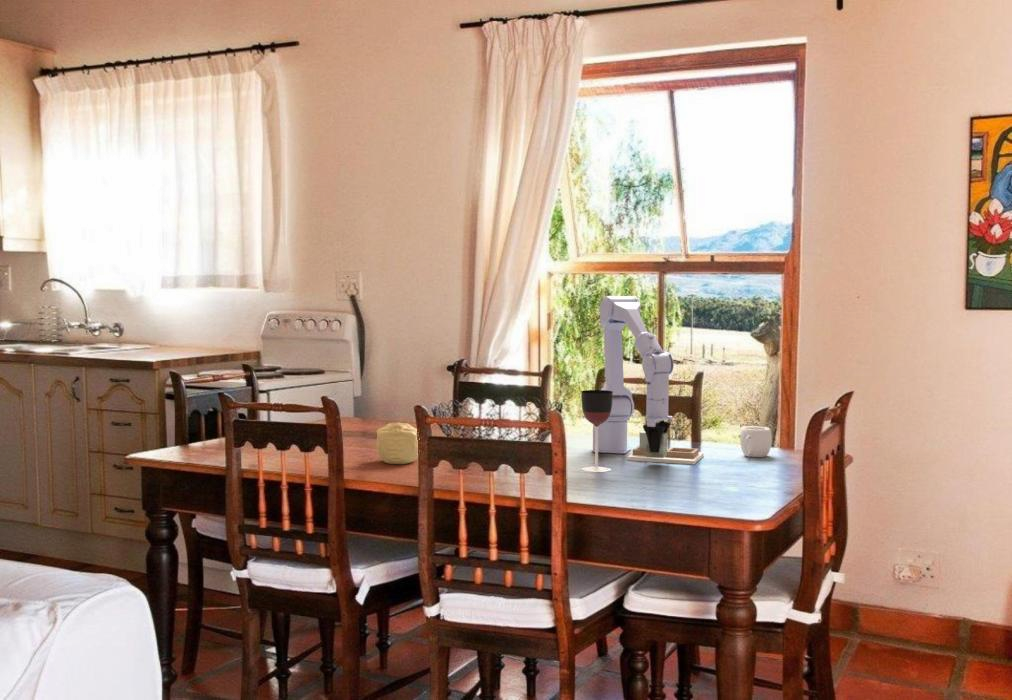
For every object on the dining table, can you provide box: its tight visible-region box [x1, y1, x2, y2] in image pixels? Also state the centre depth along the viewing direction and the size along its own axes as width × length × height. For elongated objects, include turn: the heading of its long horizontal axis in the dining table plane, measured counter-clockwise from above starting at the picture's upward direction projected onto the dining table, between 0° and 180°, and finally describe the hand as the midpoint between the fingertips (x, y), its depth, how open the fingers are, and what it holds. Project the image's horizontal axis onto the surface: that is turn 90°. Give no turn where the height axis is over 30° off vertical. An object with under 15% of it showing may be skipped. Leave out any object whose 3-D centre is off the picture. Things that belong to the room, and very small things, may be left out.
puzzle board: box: [626, 429, 704, 465], centre depth 284 cm, size 18×14×7 cm
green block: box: [646, 432, 668, 458], centre depth 273 cm, size 4×4×6 cm
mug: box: [739, 425, 773, 458], centre depth 286 cm, size 12×8×8 cm
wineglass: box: [580, 389, 614, 473], centre depth 267 cm, size 8×9×20 cm
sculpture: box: [375, 421, 419, 465], centre depth 277 cm, size 12×12×11 cm
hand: (656, 450), depth 274 cm, fingers closed on green block, 4 cm apart
